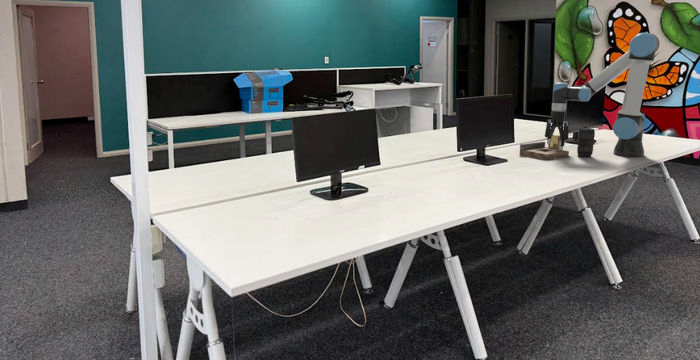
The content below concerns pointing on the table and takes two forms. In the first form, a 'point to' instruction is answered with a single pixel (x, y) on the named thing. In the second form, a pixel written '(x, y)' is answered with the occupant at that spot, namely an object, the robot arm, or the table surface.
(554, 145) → the brass sleeve
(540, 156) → the plate
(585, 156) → the camera lens
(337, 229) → the table surface
